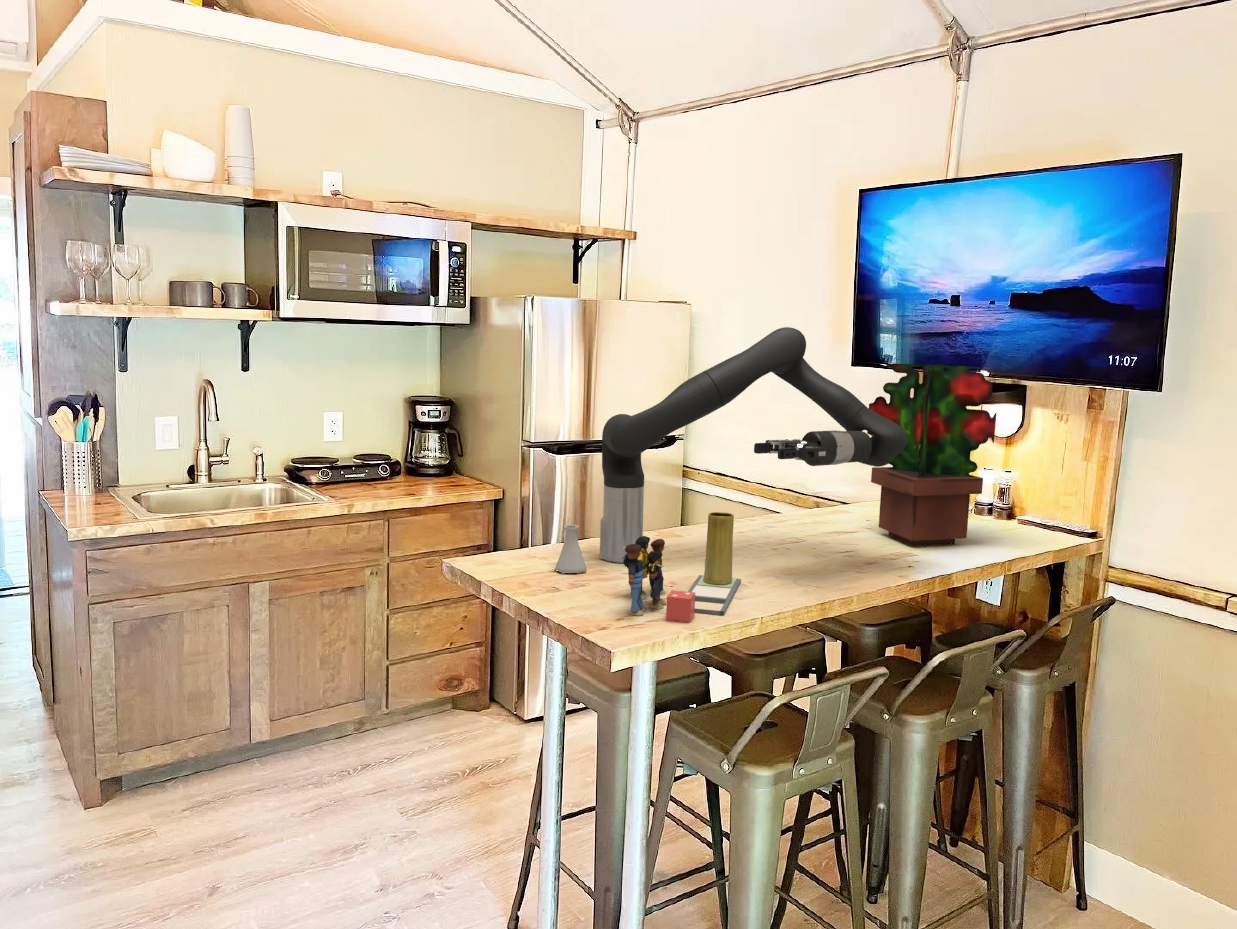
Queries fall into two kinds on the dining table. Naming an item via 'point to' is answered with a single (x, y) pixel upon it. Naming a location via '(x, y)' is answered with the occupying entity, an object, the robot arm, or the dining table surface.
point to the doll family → (645, 572)
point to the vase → (719, 548)
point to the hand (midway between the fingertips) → (766, 451)
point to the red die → (680, 606)
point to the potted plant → (932, 452)
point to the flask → (571, 553)
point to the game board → (714, 594)
